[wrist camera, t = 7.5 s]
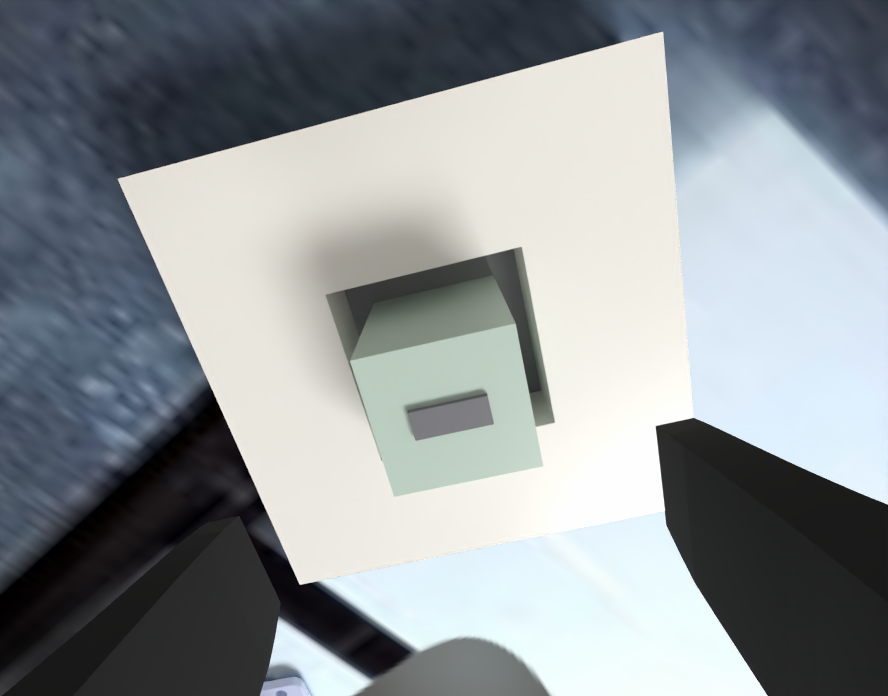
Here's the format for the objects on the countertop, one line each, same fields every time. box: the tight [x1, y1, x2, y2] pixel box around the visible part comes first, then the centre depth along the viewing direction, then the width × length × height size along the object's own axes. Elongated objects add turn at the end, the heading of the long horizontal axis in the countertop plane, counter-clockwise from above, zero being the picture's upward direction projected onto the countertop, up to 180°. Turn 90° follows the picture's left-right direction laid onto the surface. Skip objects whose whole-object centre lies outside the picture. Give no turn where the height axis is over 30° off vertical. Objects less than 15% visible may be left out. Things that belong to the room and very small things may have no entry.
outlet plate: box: [118, 32, 693, 585], centre depth 16 cm, size 14×14×2 cm
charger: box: [350, 275, 543, 497], centre depth 15 cm, size 4×4×5 cm
